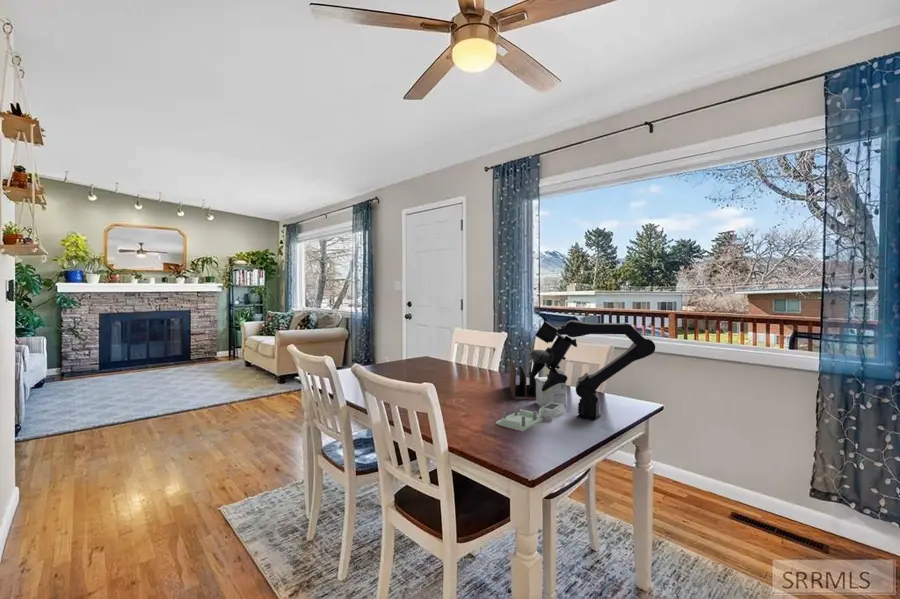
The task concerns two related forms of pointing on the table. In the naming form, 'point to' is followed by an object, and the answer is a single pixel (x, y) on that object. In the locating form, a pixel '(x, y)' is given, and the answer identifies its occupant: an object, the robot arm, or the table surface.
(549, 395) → the light bulb box
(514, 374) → the letter holder
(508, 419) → the tray
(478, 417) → the table surface
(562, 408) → the block
